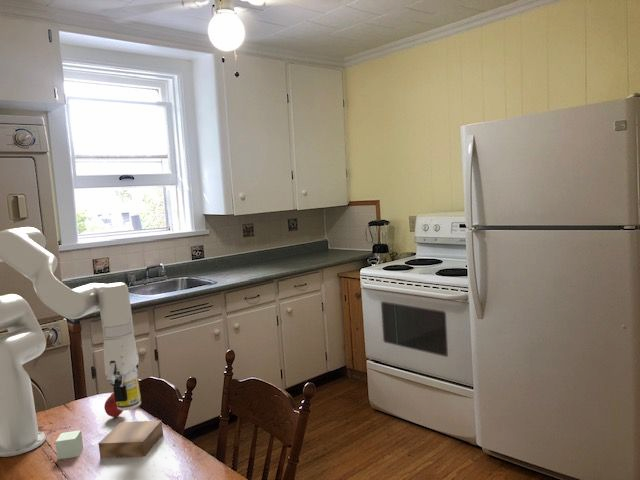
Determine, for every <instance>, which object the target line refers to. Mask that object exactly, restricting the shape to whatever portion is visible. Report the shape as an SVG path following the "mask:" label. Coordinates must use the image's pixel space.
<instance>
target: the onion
mask: <svg viewBox="0 0 640 480" xmlns="http://www.w3.org/2000/svg"><path fill="white" fill-rule="evenodd" d="M103 408H104V409H103V410H104V412H105V413H106V415H107V416H108V417H111V418H115V419H117V418H119V417H120V415H122V413H123V412H124V410H119V409H118V408H117V404H116V401H115V397H114V391H113V392H112V393H111V394H110V396H109V397H108V398H107V399H106V400H105V402H104V407H103Z"/></svg>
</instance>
